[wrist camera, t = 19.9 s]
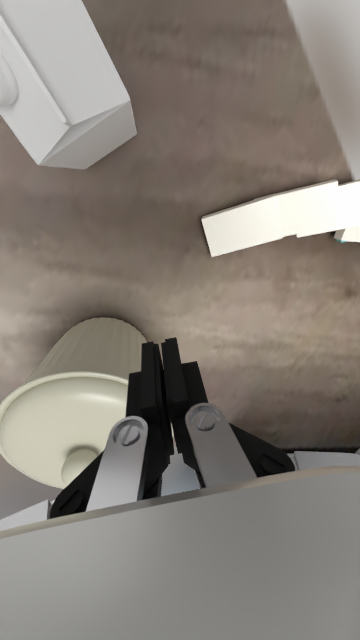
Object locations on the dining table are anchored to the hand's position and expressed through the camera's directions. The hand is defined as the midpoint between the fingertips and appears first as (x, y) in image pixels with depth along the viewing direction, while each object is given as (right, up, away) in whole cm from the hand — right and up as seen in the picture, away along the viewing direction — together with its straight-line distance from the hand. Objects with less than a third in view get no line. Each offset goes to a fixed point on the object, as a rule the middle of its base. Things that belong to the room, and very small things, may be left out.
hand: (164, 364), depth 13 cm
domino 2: (+11, +15, +21) cm, 28 cm away
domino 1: (+4, +13, +21) cm, 25 cm away
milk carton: (-9, +24, +15) cm, 29 cm away
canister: (-11, -2, +29) cm, 31 cm away
